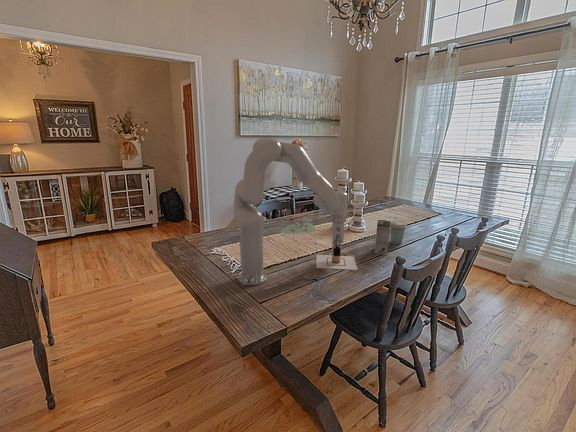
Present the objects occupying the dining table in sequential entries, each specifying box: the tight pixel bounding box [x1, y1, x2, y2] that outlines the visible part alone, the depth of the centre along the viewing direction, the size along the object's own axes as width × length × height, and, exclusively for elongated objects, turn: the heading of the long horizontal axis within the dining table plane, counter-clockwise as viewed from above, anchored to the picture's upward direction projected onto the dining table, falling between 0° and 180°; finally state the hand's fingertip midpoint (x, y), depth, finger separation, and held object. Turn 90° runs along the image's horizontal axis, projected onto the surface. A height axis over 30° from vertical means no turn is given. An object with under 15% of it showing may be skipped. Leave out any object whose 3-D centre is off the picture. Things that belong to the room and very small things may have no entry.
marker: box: [331, 241, 342, 264], centre depth 147 cm, size 4×4×12 cm
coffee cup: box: [390, 220, 406, 246], centre depth 173 cm, size 9×8×12 cm
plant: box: [279, 215, 317, 235], centre depth 197 cm, size 25×21×9 cm
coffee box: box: [374, 219, 392, 256], centre depth 160 cm, size 9×6×16 cm
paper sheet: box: [315, 254, 359, 271], centre depth 149 cm, size 15×19×1 cm
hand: (336, 251), depth 147 cm, fingers open, 9 cm apart
